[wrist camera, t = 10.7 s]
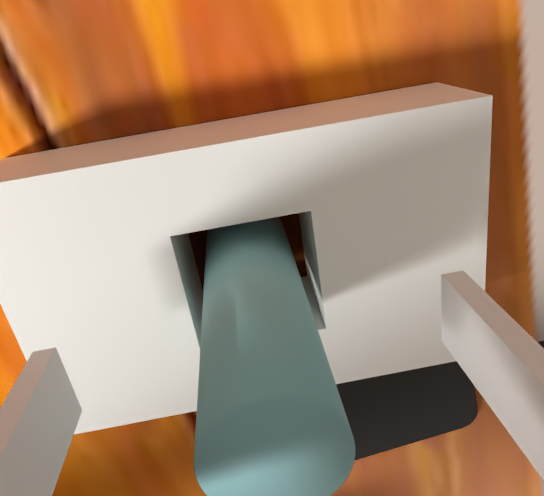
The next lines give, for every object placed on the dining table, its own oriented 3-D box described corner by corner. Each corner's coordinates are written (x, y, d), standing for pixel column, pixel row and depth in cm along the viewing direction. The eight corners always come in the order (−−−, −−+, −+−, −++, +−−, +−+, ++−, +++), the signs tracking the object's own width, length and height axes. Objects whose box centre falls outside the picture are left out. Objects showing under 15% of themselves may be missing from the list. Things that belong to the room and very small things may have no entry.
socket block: (87, 368, 27) (61, 437, 22) (4, 157, 22) (-51, 191, 17) (438, 301, 27) (482, 356, 23) (437, 82, 22) (492, 95, 18)
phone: (219, 409, 29) (465, 333, 28) (219, 399, 29) (459, 325, 29) (258, 490, 32) (480, 423, 31) (257, 479, 32) (474, 414, 32)
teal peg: (215, 279, 25) (212, 529, 13) (199, 209, 24) (176, 415, 11) (290, 266, 25) (361, 500, 13) (279, 194, 24) (348, 383, 11)
